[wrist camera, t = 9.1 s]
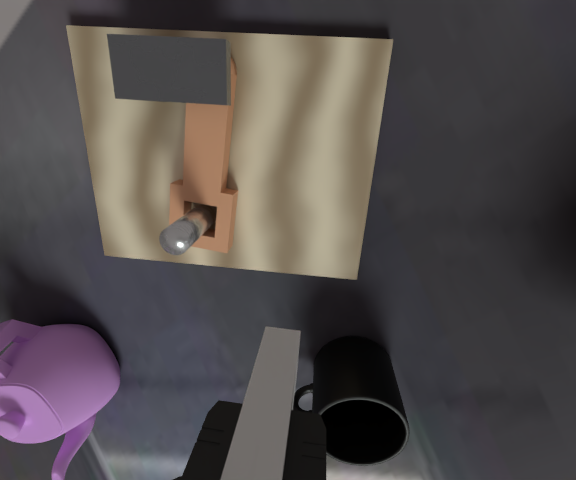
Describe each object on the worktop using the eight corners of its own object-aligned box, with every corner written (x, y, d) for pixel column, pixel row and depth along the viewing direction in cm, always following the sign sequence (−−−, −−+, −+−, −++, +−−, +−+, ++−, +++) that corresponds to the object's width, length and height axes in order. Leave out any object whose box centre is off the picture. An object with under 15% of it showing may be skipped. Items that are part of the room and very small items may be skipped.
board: (390, 42, 27) (393, 39, 26) (355, 274, 35) (356, 279, 34) (75, 28, 29) (66, 25, 28) (111, 251, 37) (104, 255, 36)
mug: (286, 342, 40) (276, 403, 31) (386, 330, 38) (405, 392, 29) (301, 399, 43) (296, 469, 34) (395, 392, 41) (414, 464, 32)
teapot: (79, 419, 49) (13, 501, 38) (0, 310, 42) (-104, 372, 32) (155, 406, 46) (106, 490, 36) (83, 286, 40) (-1, 347, 29)
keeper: (241, 50, 27) (226, 39, 23) (240, 106, 29) (226, 105, 25) (139, 45, 28) (106, 33, 24) (144, 100, 30) (115, 98, 25)
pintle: (218, 202, 33) (187, 228, 25) (218, 225, 33) (189, 256, 26) (195, 200, 33) (157, 226, 25) (196, 223, 34) (160, 253, 26)
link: (232, 245, 34) (227, 253, 32) (177, 235, 34) (168, 242, 32) (252, 54, 27) (247, 50, 25) (183, 43, 28) (173, 37, 26)
